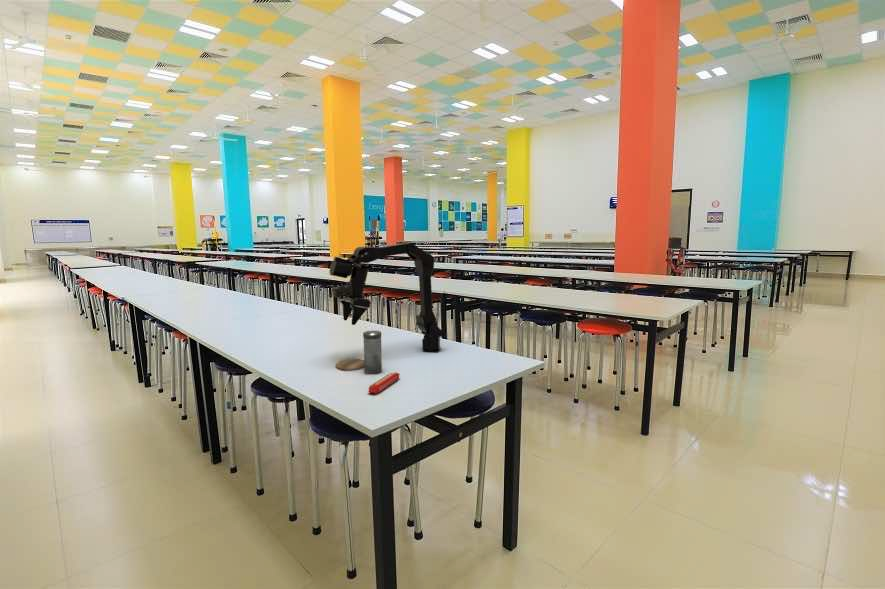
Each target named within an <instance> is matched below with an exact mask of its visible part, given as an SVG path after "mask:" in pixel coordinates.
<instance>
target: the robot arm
mask: <svg viewBox="0 0 885 589" xmlns="http://www.w3.org/2000/svg"><path fill="white" fill-rule="evenodd" d="M404 254H406V255H407V256H408V257H409V258H410V260H412V261H413V263H414V267H415V270H416V273H417V275H418V279H419V280H418V281H419V283H418V284H419V285H418V286H419V301H420V302H419V303H420V312H419V314H416V316H415V318H416V319H415V320H416V324H415V325H416V326H417V328H418V329H419V331H421V335H423V338H422V342H421V343H422V344H421V345H422V348H421V349H422V352H423V353H424V352H428V353H439V352H440V350H441V348H442V347H441V338H442V337H443V334H444V331H443V330H442V329H441V328H440V327H439V326H438V321H437V317H436V315H435V313H434V310H433V293H432V292H433V291H432V274H433V271H434V270H435V269H434V268H435V257H434V256H433V255H432V254H431V253H428V252H426V251H425V250H423V249H422V248H420V247H418V246H417V245H416V244H415V243H414V242H409V241H408V242H406V241H405V242H404V243H398V244H391V245H384V246H376V247H375V246H374V247H373V246H370V247H369V246H357V247H356V248H355V249H354V250H353V254H351V255H350V256H349V257H348V258H347V259H345V258H341V257H339V256H334V258H333V260H332V262H331V264H330V266H329V275H330V276H332V277H338V278H343V279H347V278H350V279H349V281H347V282H346V285H344V284H343V285H339V286H333V287H331V294H332V297H334V298H335V299H336V298H337V299H338V302H339V303H341V305H342V314H343V316H342V317H343V319H342V320H343V321H347V320H348V319H349V317H350V315H351V325H352V326H355V325H356V324H357V323H358V322H359V320H360V318H361V317H362V316H363V315H364V313H365V312H366V311H367V310H368V309H370V307H371V304H372V303H371V301H370V300H369V299H368V298H366V297H365V296H364V291H365V289H367V287H368V286H367V285H366V281H367V277H368V272H370V271H371V272H374V271H375V269H374V268H373V266H372V264H370V263H371V262H374V261H377V260H379V259H380V258H384V257H385V258H386V257H390V256H391V257H392V256H398V255H404ZM353 264H355V265H353Z"/></svg>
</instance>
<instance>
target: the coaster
mask: <svg viewBox="0 0 885 589" xmlns="http://www.w3.org/2000/svg"><path fill="white" fill-rule="evenodd" d="M335 369H337V370H339V371H344V372H346V371H347V372H348V371H349V372H350V371H359V370H363V369H364V359H363V358H348V359H347V358H346V359H342V360H340V361H337V362H336V363H335Z"/></svg>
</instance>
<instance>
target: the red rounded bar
mask: <svg viewBox="0 0 885 589" xmlns="http://www.w3.org/2000/svg"><path fill="white" fill-rule="evenodd" d="M400 375H401V374H400V373H399V372H396V371H395V372H390V373H388V374H386V375H384V376H383V377H382V378H381V377H380V379H378V380H376V381H375V382H374V383H372V384H371V385H370V386H368V391H367V393H369V394H378V393H380V392H381V391H383V390H385V389H386V388H389V386H390V385H392V384H393V383H396V381H398V380H399V379H400Z"/></svg>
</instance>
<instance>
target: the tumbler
mask: <svg viewBox="0 0 885 589" xmlns="http://www.w3.org/2000/svg"><path fill="white" fill-rule="evenodd" d="M362 338H363V360H364V368H363V369H364V373H365V374H366V375H371V376H373V375H379V374H381V373H382V372H383V364H382V363H383V362H382V359H383V358H382V352H383V351H382V332H381V331H380V330H367V331H363V333H362Z"/></svg>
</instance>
